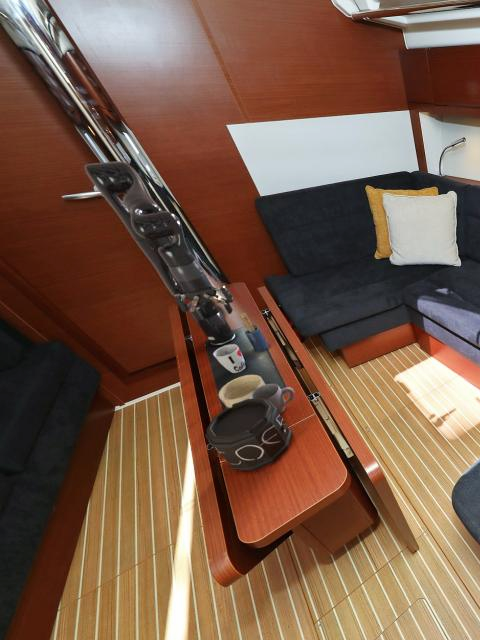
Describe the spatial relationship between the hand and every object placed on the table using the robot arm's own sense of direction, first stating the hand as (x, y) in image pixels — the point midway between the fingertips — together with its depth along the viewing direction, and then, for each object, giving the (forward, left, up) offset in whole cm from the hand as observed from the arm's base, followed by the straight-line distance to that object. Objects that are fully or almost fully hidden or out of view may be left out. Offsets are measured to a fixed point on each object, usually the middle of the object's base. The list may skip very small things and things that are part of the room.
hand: (216, 316), depth 118 cm
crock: (-16, +7, -28) cm, 33 cm away
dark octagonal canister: (+45, -7, -28) cm, 53 cm away
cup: (-7, -4, -28) cm, 29 cm away
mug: (+30, +2, -28) cm, 41 cm away
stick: (-16, +7, -28) cm, 33 cm away
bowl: (+17, -5, -28) cm, 33 cm away
